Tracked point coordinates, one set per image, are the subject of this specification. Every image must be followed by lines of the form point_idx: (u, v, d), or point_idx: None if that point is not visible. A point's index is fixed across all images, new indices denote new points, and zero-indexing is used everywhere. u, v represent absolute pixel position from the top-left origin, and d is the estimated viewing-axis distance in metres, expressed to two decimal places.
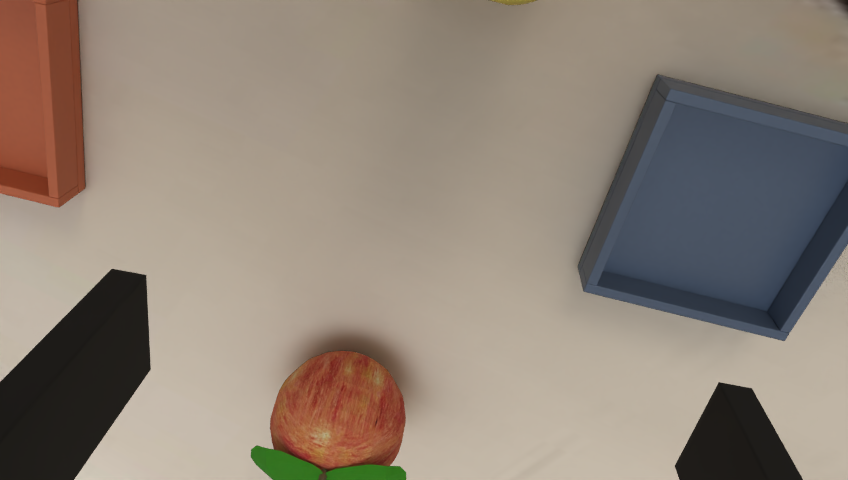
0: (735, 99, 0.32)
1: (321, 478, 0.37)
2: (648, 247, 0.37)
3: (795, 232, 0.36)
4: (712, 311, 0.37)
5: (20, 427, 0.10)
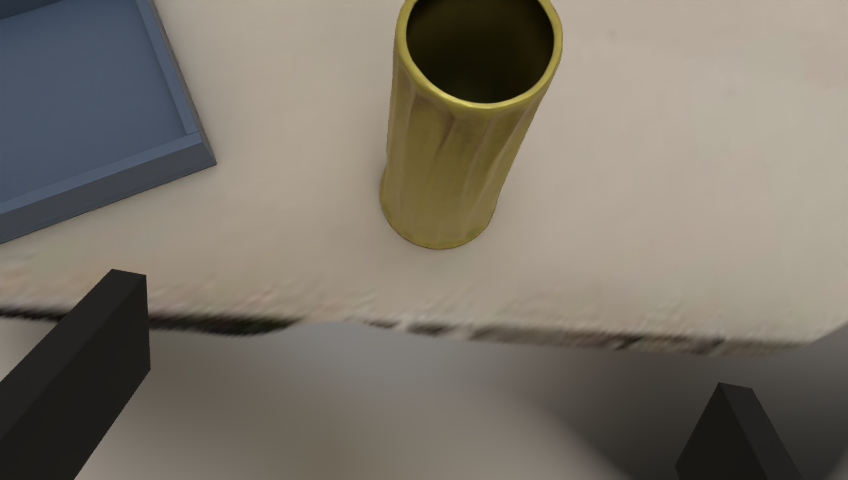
0: (135, 181, 0.31)
1: None
2: (95, 27, 0.33)
3: None
4: None
5: (20, 427, 0.10)
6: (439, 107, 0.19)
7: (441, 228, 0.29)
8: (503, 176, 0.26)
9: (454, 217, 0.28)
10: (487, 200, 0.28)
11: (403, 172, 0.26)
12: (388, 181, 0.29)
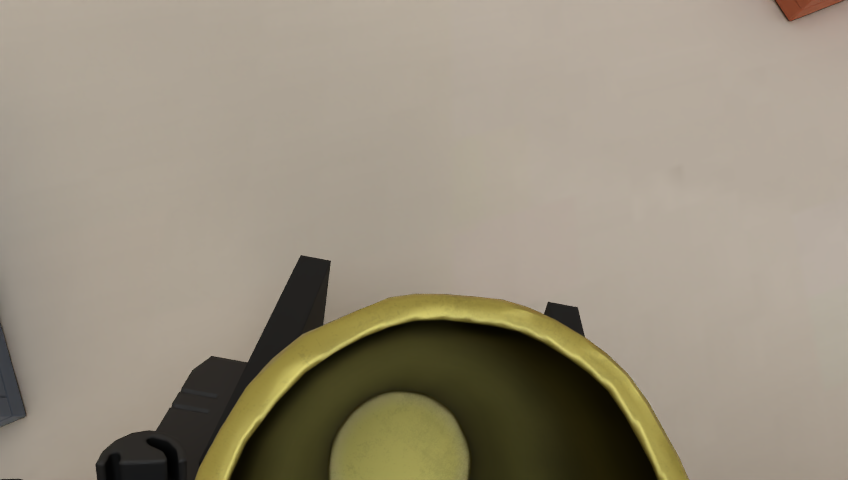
0: None
1: None
2: None
3: None
4: None
5: None
6: None
7: None
8: None
9: None
10: None
11: None
12: None
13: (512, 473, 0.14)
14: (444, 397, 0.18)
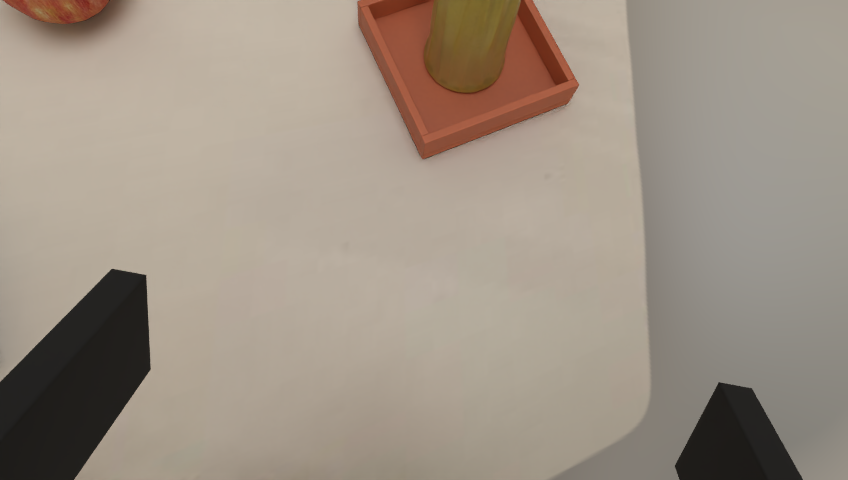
0: None
1: None
2: None
3: None
4: None
5: (20, 427, 0.10)
6: None
7: (467, 69, 0.44)
8: (509, 23, 0.41)
9: (477, 57, 0.42)
10: (498, 47, 0.43)
11: (446, 19, 0.40)
12: (433, 37, 0.43)
13: None
14: None
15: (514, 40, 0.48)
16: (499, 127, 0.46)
